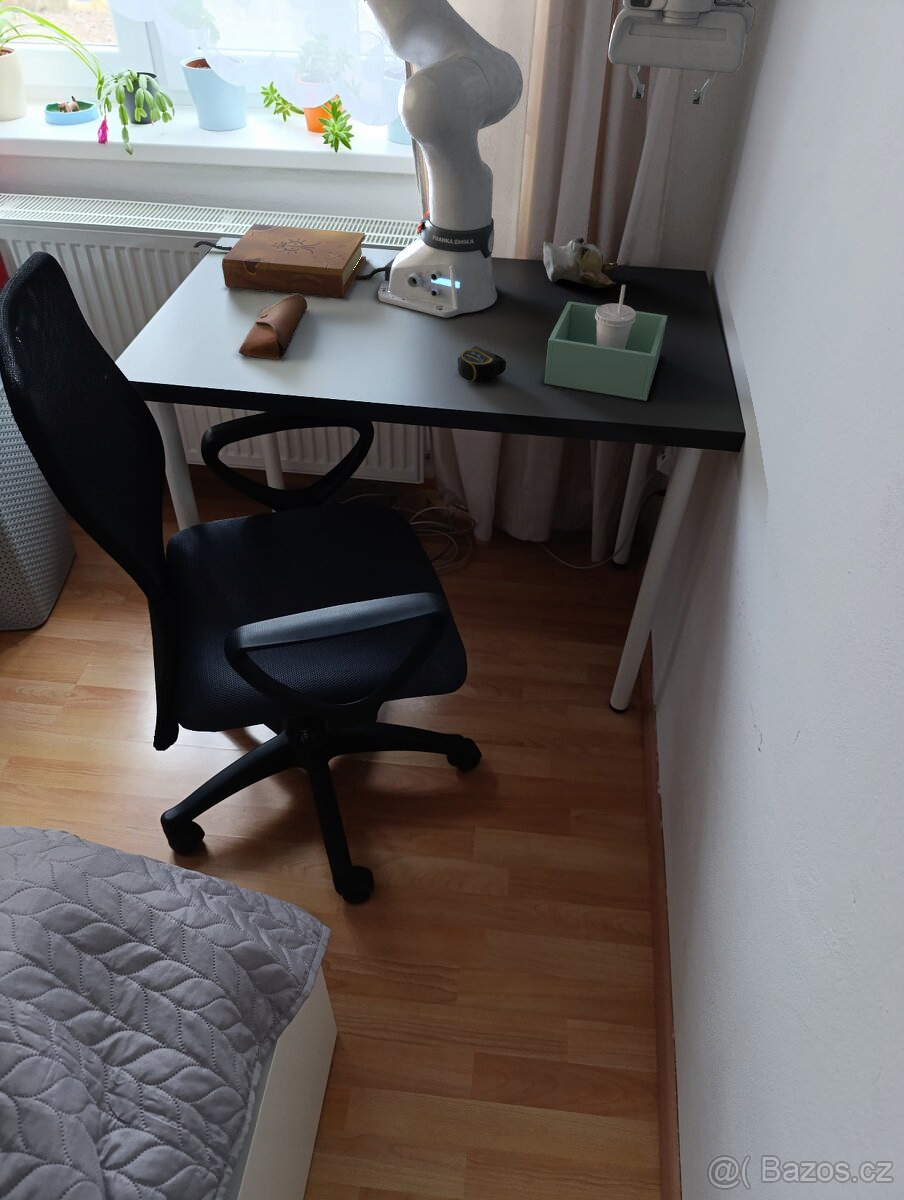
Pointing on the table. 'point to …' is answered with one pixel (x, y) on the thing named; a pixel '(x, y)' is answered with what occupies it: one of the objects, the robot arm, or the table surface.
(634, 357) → the green open storage box
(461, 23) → the robot arm
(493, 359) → the tape measure
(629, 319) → the smoothie
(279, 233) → the diary
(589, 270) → the ceramic sculpture
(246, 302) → the table surface
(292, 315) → the sunglasses case
